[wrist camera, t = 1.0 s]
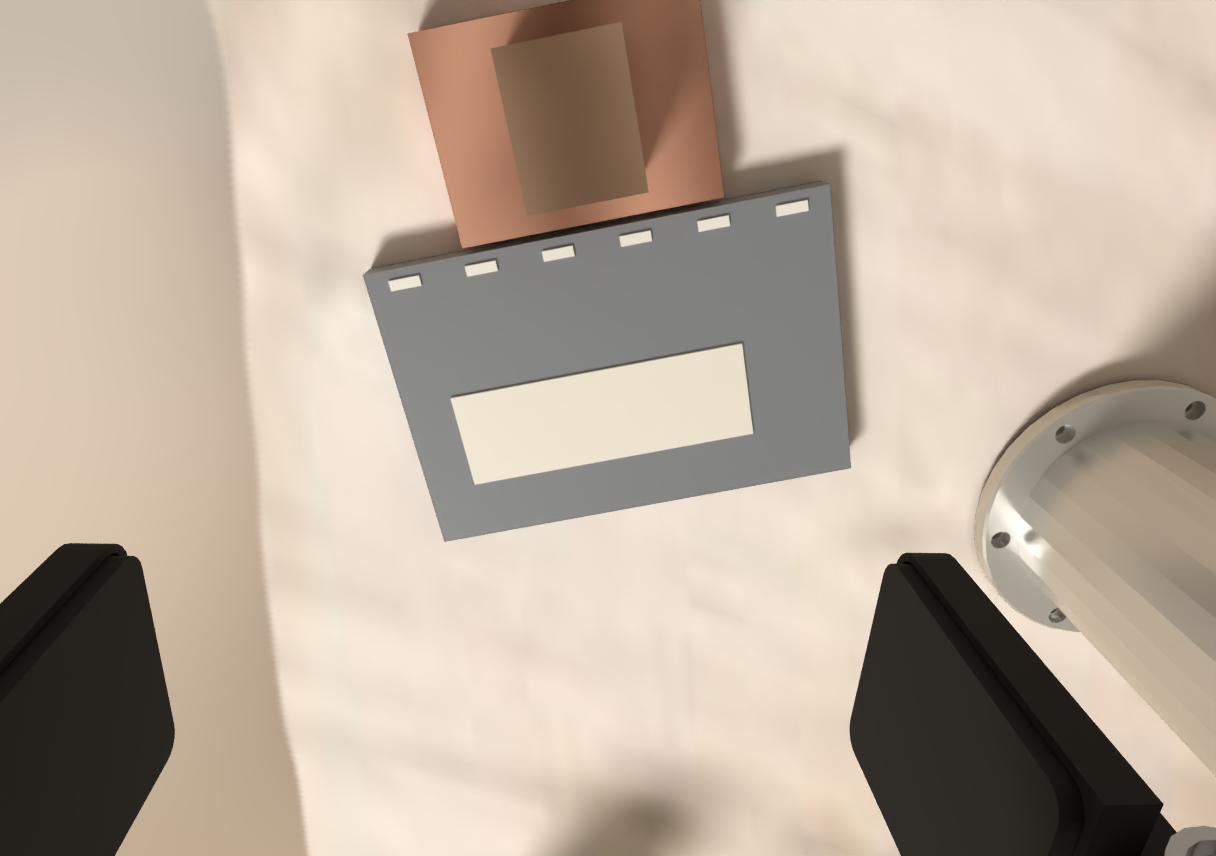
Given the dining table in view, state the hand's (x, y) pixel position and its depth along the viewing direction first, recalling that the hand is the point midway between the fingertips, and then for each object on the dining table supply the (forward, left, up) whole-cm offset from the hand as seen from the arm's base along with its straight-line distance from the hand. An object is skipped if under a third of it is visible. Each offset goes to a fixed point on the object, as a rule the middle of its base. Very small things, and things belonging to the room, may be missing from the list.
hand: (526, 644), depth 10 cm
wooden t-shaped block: (-2, -5, -24) cm, 24 cm away
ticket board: (-2, +5, -24) cm, 24 cm away
